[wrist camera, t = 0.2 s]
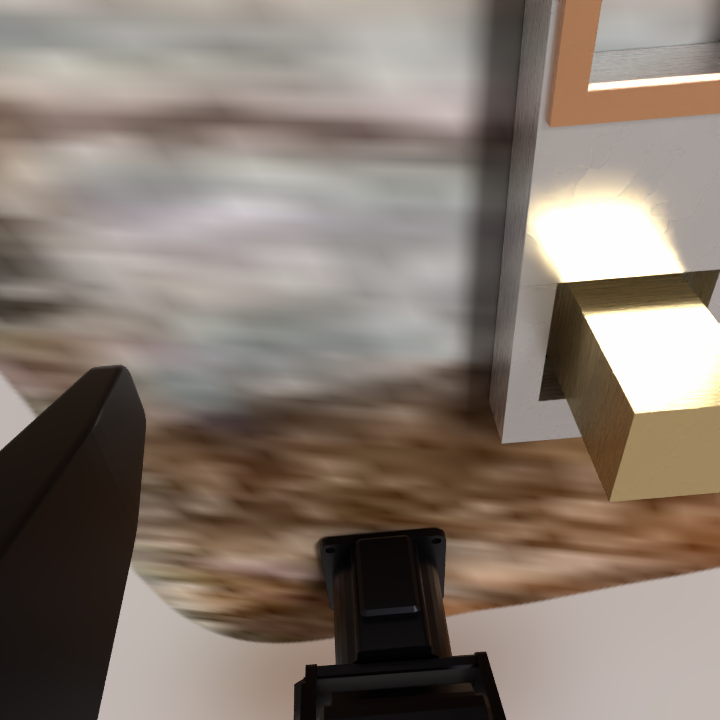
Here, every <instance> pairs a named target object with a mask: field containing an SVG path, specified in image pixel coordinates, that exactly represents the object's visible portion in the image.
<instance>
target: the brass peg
mask: <svg viewBox="0 0 720 720" xmlns="http://www.w3.org/2000/svg"><path fill="white" fill-rule="evenodd" d="M546 353H547V355H548V357H549V360H550V362H551V364H552V367H553V369H554V372H555V374H556V376H557V379H558V381H559V383H560V386H561V388H562V391H563V393H564V395H565V398H566V400H567V403H568V405H569V407H570V410H571V412H572V414H573V417H574V419H575V422H576V424H577V426H578V429H579V431H580V434H581V436H582V438H583V441H584V443H585V445H586V448H587V450H588V453H589V455H590V457H591V460H592V462H593V464H594V467H595V469H596V472H597V474H598V476H599V479H600V481H601V484H602V486H603V488H604V491H605V493H606V495H607V498H608V500H609V502H614V501H626V500H637V499H649V498H660V497H672V496H683V495H694V494H706V493H717V492H720V325H719V324H718V322H717V321H716V320H715V319H714V317H713V316H712V315H711V313H710V312H709V311H708V309H707V308H706V307H705V305H704V304H703V303H702V301H701V300H700V299H699V297H698V296H697V295H696V293H695V292H694V291H693V289H692V288H691V287H690V285H689V284H688V283H687V281H686V280H685V279H684V277H683V276H682V275H681V273H670V274H658V275H646V276H635V277H623V278H611V279H599V280H587V281H575V282H564V283H557V286H556V293H555V299H554V306H553V312H552V318H551V325H550V331H549V337H548V344H547V350H546Z"/></svg>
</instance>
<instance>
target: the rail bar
mask: <svg viewBox="0 0 720 720" xmlns="http://www.w3.org/2000/svg"><path fill="white" fill-rule="evenodd" d="M601 3H602V0H525V11H524V22H523V33H522V44H521V55H520V66H519V77H518V88H517V99H516V110H515V121H514V132H513V143H512V154H511V165H510V176H509V187H508V198H507V209H506V220H505V231H504V242H503V253H502V264H501V275H500V286H499V297H498V308H497V319H496V330H495V341H494V352H493V363H492V374H491V385H490V396H489V403H490V406H491V409H492V413H493V416H494V419H495V423H496V426H497V430H498V433H499V436H500V440H501V443H502V444H503V443H515V442H526V441H538V440H549V439H561V438H572V437H582V436H581V434H580V431H579V429H578V426H577V424H576V422H575V419H574V417H573V414H572V412H571V410H570V407H569V405H568V403H567V400H566V398H565V395H564V393H563V391H562V388H561V386H560V383H559V381H558V379H557V376H556V374H555V372H554V369H553V367H552V364H551V362H550V360H549V357H545V356H546V350H547V344H548V337H549V331H550V325H551V318H552V312H553V306H554V299H555V293H556V286H557V283H564V282H575V281H587V280H599V279H611V278H623V277H635V276H646V275H658V274H670V273H681V275H682V276H683V277H684V279H685V280H686V281H687V283H688V284H689V285H690V287H691V288H692V289H693V291H694V292H695V293H696V295H697V296H698V297H699V299H700V300H701V301H702V303H703V304H704V305H705V307H706V308H707V309H708V311H709V312H710V313H711V315H712V316H713V317H714V319H715V320H716V321H717V322H718V324H719V325H720V42H717V43H705V44H693V45H680V46H668V47H656V48H644V49H631V50H619V51H607V52H594V48H595V41H596V35H597V29H598V22H599V16H600V10H601Z"/></svg>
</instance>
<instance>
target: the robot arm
mask: <svg viewBox="0 0 720 720" xmlns="http://www.w3.org/2000/svg"><path fill="white" fill-rule="evenodd" d="M145 432H146V418H145V412H144V409H143V406H142V403H141V401H140V398H139V395H138V393H137V390H136V387H135V385H134V382H133V380H132V377H131V374H130V372H129V371H128V369H127V368H126V367H125V366H123V365H111V366H100V367H94V368H92V369H90V370H89V371H88V372H87V373H86V374H84V375H83V376H82V377H81V378H80V379H79V380H78V381H77V382H76V383H74V384H73V385H72V386H71V387H70V388H69V389H68V390H67V391H66V392H65V393H63V394H62V395H61V396H60V397H59V398H58V399H57V400H56V401H55V402H54V403H52V404H51V405H50V406H49V407H48V408H47V409H46V410H45V411H44V412H42V413H41V414H40V415H39V416H38V417H37V418H36V419H35V420H34V421H33V422H31V424H29V425H28V426H27V427H26V428H25V429H24V430H23V431H22V432H20V433H19V434H18V435H17V436H16V437H15V438H14V439H13V440H12V441H11V442H10V443H8V444H7V445H6V446H5V447H4V448H3V449H2V450H1V451H0V720H97V719H98V714H99V709H100V704H101V700H102V694H103V690H104V686H105V680H106V676H107V671H108V666H109V661H110V657H111V652H112V648H113V643H114V638H115V633H116V628H117V624H118V619H119V614H120V609H121V604H122V600H123V595H124V590H125V585H126V581H127V576H128V571H129V567H130V562H131V557H132V552H133V548H134V542H135V537H136V531H137V524H138V515H139V503H140V491H141V480H142V468H143V456H144V444H145ZM320 551H321V557H322V563H323V569H324V575H325V581H326V587H327V593H328V599H329V605H330V608H331V609H332V610H334V629H335V654H336V655H335V656H336V665H328V666H317V664H313V665H306V674H305V677H304V679H303V680H301V681H299V682H297V683H296V684H295V685H294V720H506V717H505V714H504V710H503V707H502V704H501V700H500V697H499V693H498V690H497V687H496V684H495V680H494V677H493V673H492V670H491V667H490V663H489V660H488V657H487V653H486V652H475V653H474V655H461V656H452V653H451V647H450V641H449V635H448V630H447V623H446V617H445V611H444V605H443V597H444V577H445V553H446V538H445V533H444V531H443V530H441V529H428V530H417V531H406V532H394V533H383V534H371V535H360V536H349V537H337V538H328V539H324V540H322V542H321V544H320Z"/></svg>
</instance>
